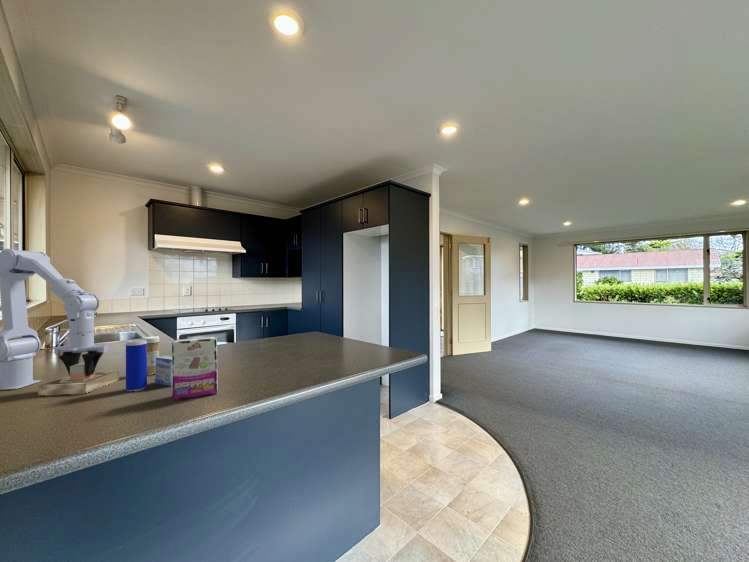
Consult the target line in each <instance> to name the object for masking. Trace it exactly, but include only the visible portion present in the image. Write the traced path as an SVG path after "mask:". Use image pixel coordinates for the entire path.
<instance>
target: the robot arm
mask: <svg viewBox="0 0 749 562" xmlns="http://www.w3.org/2000/svg"><path fill="white" fill-rule="evenodd" d="M36 274H37V276H39V277H40V278H41V279H42V280H44V281H46V282H47V283H49V285H50V288H49V289H50V292H52V293H53V294H54V295H55V296H56V297H57V298H58V299H59V300H61V301H62V306H63V309H64V311H65V312H66V318H67V319H68V345H62V346H61V345H60V346H56V347H53V350H54V351H53V353H54V354H55V355H56V354H60V355H59V356H58V358H59V360H61V362H62V363H63V364H64V365H65V368H66V371H67V373H68V376H70V366H73V365H76V364H80V359H81V357H82V360H83V363H85V374H86V376H90V375H93V374H94V372H95V371H96V367H97V365H98V363H99V360H100V359H101V358H102V356H103V355H104V353H107V352H109V345H108V344H95V312H96V311H97V310H98V309H99V307H100V299H99V298H98V297H97V295H96V294H94V293H88V292H85V290H84V289H83V288H81V287H80V286H79V285H78V284H77V283H76V281H75V280H74V279H70V278H64V277H63V276H62V275H61V274H60V272H59V271H58V270H57V269H56V268H55V267H54V266H53V265H52V263H51V257H49V256H48V255H47V254H46V253H45V252H43V251H34V250H33V251H31V250H29V251H28V250H21V249H20V250H19V249H12V248H5V249H2V250H1V251H0V305H1V320H2V321H1V322H2V330H1V331H0V390H17V389H18V390H19V389H20V388H25V387H27V386H31V385H34V384H38V383H40V381H41V382H42V380H41V379H36V380H35V379H34V357H35V356H37V355H36V354H37V353H38V352H39V351H40V350H41V348H42V341H41V339H40V338H39V336H38V331H37V330H35V329H32V328H31V327H29V321H28V319H29V318H28V307H27V294H26V293H27V292H26V280H28V278H30V277H32V276H34V275H36ZM83 353H84V354H83Z"/></svg>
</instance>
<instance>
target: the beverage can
mask: <svg viewBox="0 0 749 562" xmlns="http://www.w3.org/2000/svg"><path fill="white" fill-rule="evenodd" d="M147 386H148V375H147V342H146V340H144V339H135V340H134V339H133V340H127V341H126V343H125V390H126V391H127V392H128V391H129V392H128V393H131V392H130V391H135V392H139V390H140V391H143V390H145V389H146V388H147ZM142 389H143V390H142Z"/></svg>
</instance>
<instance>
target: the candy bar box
mask: <svg viewBox="0 0 749 562" xmlns="http://www.w3.org/2000/svg"><path fill="white" fill-rule="evenodd" d="M171 354H172V355H171V356H172V374H173V386H172V401H181V400H187V399H193V398H199V397H205V396H213V395H217V394H218V391H219V390H218V389H219V384H218V382H219V379H218V378H219V377H218V376H219V375H218V372H219V371H218V336H217V335H216V336H206V337H205V336H204V337H203V336H202V337H195V338H181V339H174V340H173V341H172V343H171Z"/></svg>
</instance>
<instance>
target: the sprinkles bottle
mask: <svg viewBox="0 0 749 562" xmlns="http://www.w3.org/2000/svg"><path fill="white" fill-rule="evenodd" d="M143 340H146V342H147V376H154V375H153V374H155V375H156V358H157V357H160V344H159V343H160V336H159V335H157V336H156V335H154V336H153V335H152V336H145V337H144V338H143Z"/></svg>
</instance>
